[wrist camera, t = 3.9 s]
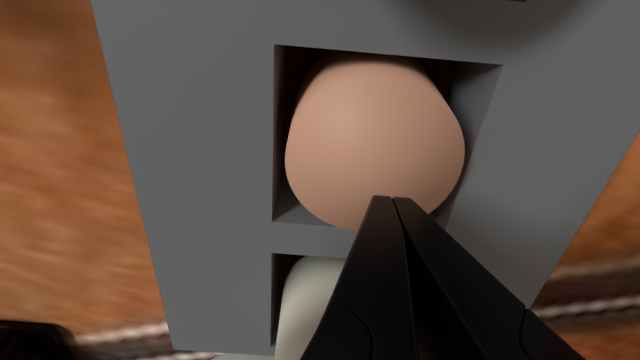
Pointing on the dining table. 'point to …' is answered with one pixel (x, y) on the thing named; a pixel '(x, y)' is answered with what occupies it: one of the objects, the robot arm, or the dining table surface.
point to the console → (267, 136)
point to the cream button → (305, 303)
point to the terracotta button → (370, 137)
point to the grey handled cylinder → (242, 357)
